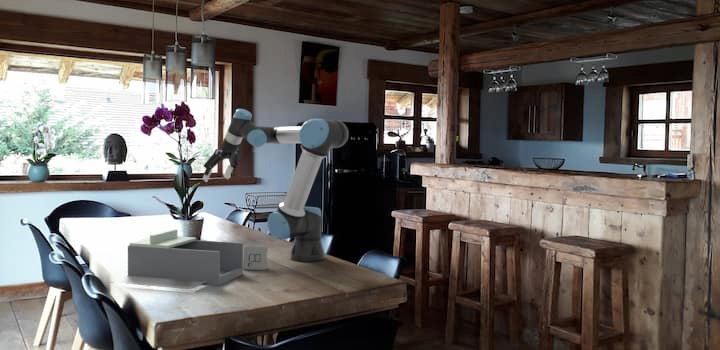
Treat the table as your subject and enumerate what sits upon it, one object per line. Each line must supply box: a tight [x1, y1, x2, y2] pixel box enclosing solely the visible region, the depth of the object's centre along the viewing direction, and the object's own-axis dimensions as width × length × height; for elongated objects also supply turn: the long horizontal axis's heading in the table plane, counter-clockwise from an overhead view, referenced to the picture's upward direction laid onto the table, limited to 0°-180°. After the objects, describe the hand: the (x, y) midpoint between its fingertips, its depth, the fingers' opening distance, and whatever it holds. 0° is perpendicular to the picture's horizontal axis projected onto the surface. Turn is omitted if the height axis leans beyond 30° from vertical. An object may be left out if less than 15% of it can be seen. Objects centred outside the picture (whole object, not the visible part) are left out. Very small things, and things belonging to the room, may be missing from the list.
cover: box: [129, 229, 197, 249], centre depth 223 cm, size 16×20×4 cm
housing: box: [127, 239, 244, 287], centre depth 221 cm, size 37×20×12 cm, turn 76°
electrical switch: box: [243, 245, 268, 271], centre depth 237 cm, size 9×5×9 cm, turn 90°
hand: (215, 179), depth 275 cm, fingers open, 13 cm apart
